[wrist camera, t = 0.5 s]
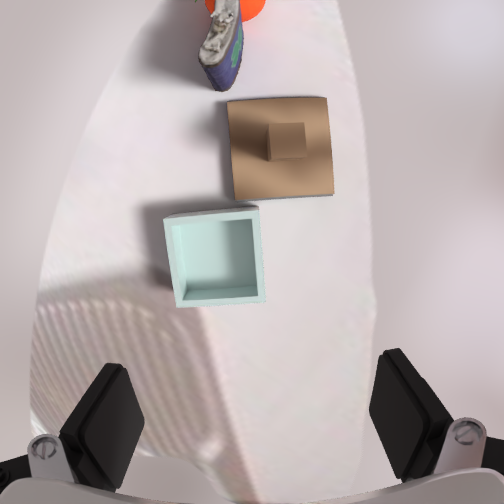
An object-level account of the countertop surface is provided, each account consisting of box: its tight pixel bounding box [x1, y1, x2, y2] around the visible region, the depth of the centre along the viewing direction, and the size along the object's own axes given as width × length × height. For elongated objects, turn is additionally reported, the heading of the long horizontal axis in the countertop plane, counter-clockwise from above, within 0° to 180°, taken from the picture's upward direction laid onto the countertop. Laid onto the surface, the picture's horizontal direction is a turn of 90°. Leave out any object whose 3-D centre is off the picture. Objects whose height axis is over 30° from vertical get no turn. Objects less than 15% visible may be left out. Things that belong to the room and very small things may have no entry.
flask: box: [198, 0, 244, 92], centre depth 25 cm, size 9×3×11 cm, turn 169°
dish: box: [163, 206, 266, 308], centre depth 34 cm, size 10×10×4 cm
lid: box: [227, 98, 334, 200], centre depth 29 cm, size 11×11×7 cm
